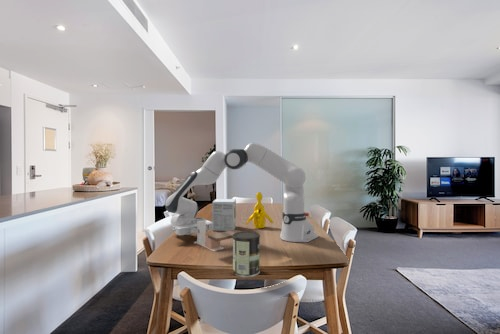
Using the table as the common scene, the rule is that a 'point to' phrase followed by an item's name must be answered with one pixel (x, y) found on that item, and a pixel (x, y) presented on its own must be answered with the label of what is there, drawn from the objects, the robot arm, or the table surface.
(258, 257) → the coffee can
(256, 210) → the figure statuette
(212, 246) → the cube
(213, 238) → the shelf
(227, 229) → the supplement box
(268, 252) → the table surface
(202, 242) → the white pillar stand
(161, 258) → the table surface
